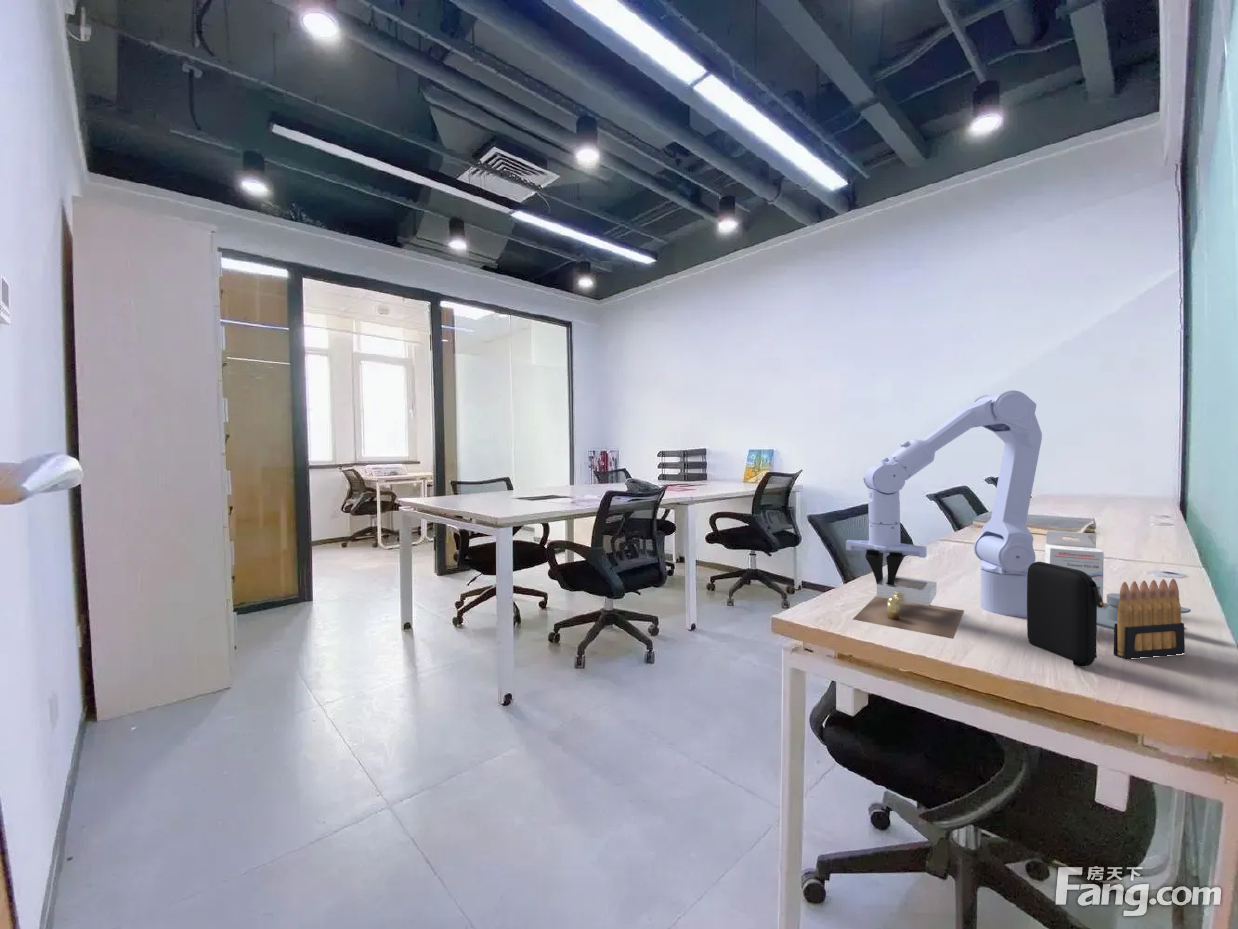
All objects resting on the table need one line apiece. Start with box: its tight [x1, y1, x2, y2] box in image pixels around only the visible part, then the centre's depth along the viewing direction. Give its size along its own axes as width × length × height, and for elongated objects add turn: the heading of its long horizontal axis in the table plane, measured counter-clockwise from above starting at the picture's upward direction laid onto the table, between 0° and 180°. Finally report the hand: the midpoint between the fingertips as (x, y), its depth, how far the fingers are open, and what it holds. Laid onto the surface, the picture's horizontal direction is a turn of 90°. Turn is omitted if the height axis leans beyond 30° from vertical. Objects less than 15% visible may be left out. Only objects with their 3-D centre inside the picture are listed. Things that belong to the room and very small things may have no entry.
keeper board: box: [852, 595, 965, 639], centre depth 95 cm, size 16×18×1 cm
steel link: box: [876, 574, 937, 606], centre depth 97 cm, size 9×9×2 cm
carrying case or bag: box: [1026, 561, 1104, 668], centre depth 76 cm, size 11×3×15 cm, turn 9°
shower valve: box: [1097, 592, 1192, 631], centre depth 90 cm, size 12×6×15 cm
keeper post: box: [887, 597, 899, 620], centre depth 93 cm, size 2×2×4 cm
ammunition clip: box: [1113, 578, 1186, 660], centre depth 77 cm, size 11×2×12 cm, turn 96°
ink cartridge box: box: [1044, 530, 1105, 601], centre depth 102 cm, size 9×5×15 cm, turn 58°
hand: (885, 587), depth 100 cm, fingers closed on steel link, 1 cm apart
